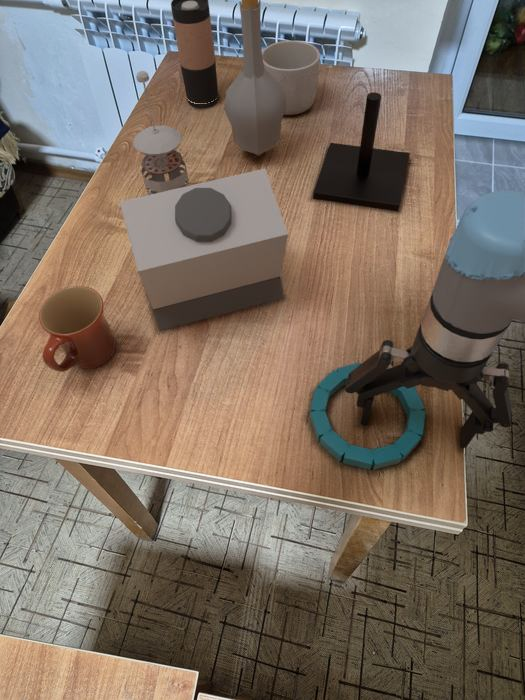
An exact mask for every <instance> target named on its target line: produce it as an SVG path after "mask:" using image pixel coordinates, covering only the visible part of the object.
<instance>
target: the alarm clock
mask: <svg viewBox="0 0 525 700" xmlns="http://www.w3.org/2000/svg"><path fill="white" fill-rule="evenodd" d="M119 206H120V209H121V213H122V216H123V220H124V225H125V229H126V231H127V235H128V240H129V244H130V248H131V251H132V255H133V257H134V262H135V266H136V270H137V273H138V275H139V279H140V280H141V283H142V285H143V288H144V290H145V293H146V295H147V298H148V301H149V303H150V306H151V308H152V311H153V315H154V319H155V321H156V324H157V328H158V331H159V332H160V331H165V330H169V329H172V328H176V327H179V326H183V325H187V324H191V323H194V322H199V321H202V320H205V319H210V318H213V317H217V316H221V315H224V314H229V313H233V312H235V311H240V310H243V309H247V308H251V307H255V306H258V305H262V304H267V303H270V302H274V301H277V300H281V299H284V294H283V286H282V278H281V277H282V272H283V266H284V260H285V254H286V250H287V249H286V248H287V243H288V239H289V238H288V237H289V232H288V229H287V226H286V224H285V221H284V218H283V215H282V213H281V210H280V206H279V204H278V201H277V199H276V195H275V192H274V190H273V187H272V184H271V181H270V178H269V176H268V173H267V170H266V168H262V169H257V170H252V171H249V172H243V173H239V174H235V175H234V174H233V175H230V176H226V177H222V178H217V179H213V180H207V181H203V182H199V183H196V184H191V185H190V186H188V185H187V186H186V187H182V188H177V189H173V190H169V191H164V192H160V193H155V194H151V195H148V194H146V195H143V196H138V197H134V198H130V199H124V200H120V201H119Z"/></svg>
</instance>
